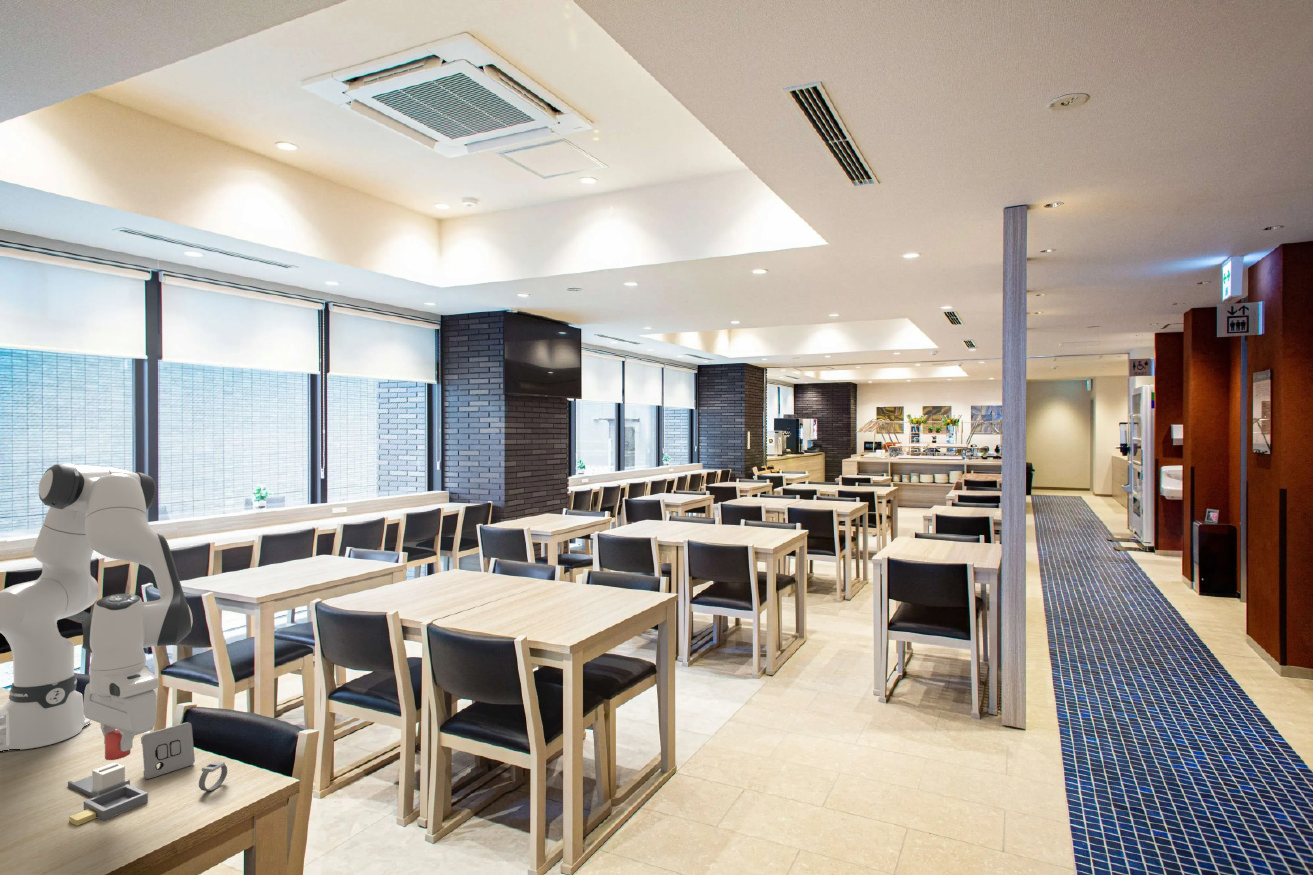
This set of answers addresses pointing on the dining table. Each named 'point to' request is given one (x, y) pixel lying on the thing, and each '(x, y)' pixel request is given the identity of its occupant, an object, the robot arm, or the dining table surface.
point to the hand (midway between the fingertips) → (118, 746)
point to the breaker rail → (86, 786)
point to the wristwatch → (211, 768)
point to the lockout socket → (110, 804)
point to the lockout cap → (114, 746)
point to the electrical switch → (167, 750)
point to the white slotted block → (107, 776)
